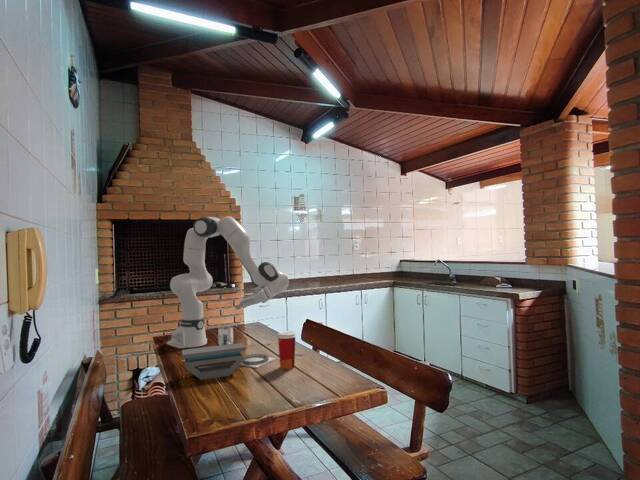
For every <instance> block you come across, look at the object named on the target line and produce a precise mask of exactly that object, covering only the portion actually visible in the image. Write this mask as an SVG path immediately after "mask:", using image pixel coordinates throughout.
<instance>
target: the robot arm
mask: <svg viewBox="0 0 640 480" xmlns="http://www.w3.org/2000/svg"><path fill="white" fill-rule="evenodd" d="M192 225H193V227H192V228H191V227H190V228H189V229H188V230H187V232H186V235H185V239H184V245H183V256H182V257H183V259H182V260H183V263H184V264H185V265H186V266H188V269H189V272H188V273H181V274H178V275H176V276H173V277H172V278H171V280H170V283H169V287H170V290H171V292H172V293H173V294H175V295H176V296H177V298H178V299H179V302H180V304H181V317H182V319H179V320H178V322H179V326H178V327H177V328H176V329H174V331H173V332H172V334H171V340H169V341H167V342H166V345H168V346H170V347H171V346H172V348H173V347H174V348H177V349H186V348H188V349H190V348H199V347H202V346H205V345H207V344H208V338H207V334H206V326H205V317H204V304H203V302H202V301H201V300H200V299H198V297H197V293H201V292H205V291H207V290H209V289H211V287H212V286H213V281H214V279H213V276H212V274H210V273H209V271H208V270H207V268H206V262H205V260H206V243H207V240H208V239H209V238H210V239H212V238H216V237H220V236H222V237H223V238H224V240H225V241H226V242H227V243H228V245H229V246H230V248H231V249H232V250H233V252H234V254H235V255H236V256H237V258H238V260H239V261H240V263H241V264H242V266H243V267H244V269H245V270H246V271H247V273H248V275H249V277H250V280H251V284H252V285H253V286H254V287H255V288H254V291H253V292H252V294H250V295H249V296H246V297H245V298H243V299H241V300H240V301H239V304H237V305H236V306H235V310H236V311H238V310H240V309H241V308H243V309H245V308H247V307H250V306H253V305H257V304H260V303H262V304H265V303H267V302H269V300H271V299H273V298H274V297H275V296H277V295H280V294H281V293H283V292H284V291H285V290H287V288H288V287H290V279H289V277H288V275H287V274H286V273H284V272H282V271H279V269H277V268H276V267H275V266H274V264H273V263H271V262H268V261H264V262H261V263H260V264H259V265H258V264H257V263H256V261H255V259H254V258H253V257H252V254H251V250H250V247H251V238H250V236H249V234H248V232H247V231H246V230H245V228H244V227H243V226H242V225H241V224H240V222H238V221H237V219H235V218H234V217H233V216H229V215H227V216H224V217H222V218H221V217H217V216H201V217H198V218H197V219H196V220H194V222H193V224H192Z"/></svg>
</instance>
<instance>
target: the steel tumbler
mask: <svg viewBox="0 0 640 480" xmlns="http://www.w3.org/2000/svg"><path fill="white" fill-rule="evenodd" d="M217 332H218V334H217V340H218V346H220V345H228V344H234V328H233V326H231V325H224V326H219V327H218V330H217Z"/></svg>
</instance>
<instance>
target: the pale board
mask: <svg viewBox="0 0 640 480" xmlns="http://www.w3.org/2000/svg"><path fill="white" fill-rule="evenodd" d="M264 359H265V358H262V357H253V358H248V359H245V361H260V360H264ZM277 359H278V358H277V357H271V356H269V360H268V361H267V362H265V363H263V364H257V365H247V364H243V363H241V364H240V365H239V366H242V367H246V368H252V369H260V368H261V367H264V366H266V365H268V364H270V363H272V362H274V361H276V360H277Z"/></svg>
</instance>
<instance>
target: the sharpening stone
mask: <svg viewBox="0 0 640 480" xmlns="http://www.w3.org/2000/svg"><path fill="white" fill-rule="evenodd" d="M246 349H247V346H246V345H245V344H244V343H242V342H238V343H237V342H236V343H233V344H228V345H220V346H219V345H213V346H204V347H194V348H188V349H186V348H185V349H181V357H182V359H183V360H184V364H185V365H184V366H185V370H187V371H188V372H190V373H191V374H192V375H194V377H196V378H197V379H199V380H200V381H203V379H204V380H210V379H216V378H222V377H230V376H231V375H232V374H233V373H234V372H235V370H237V368H238V367H240V366H241V365H240V364H241V363H242V362H243V357H244V355H243V353H242V352H246V351H247V350H246ZM219 363H220V364H219ZM204 365H206V366H204Z"/></svg>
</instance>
